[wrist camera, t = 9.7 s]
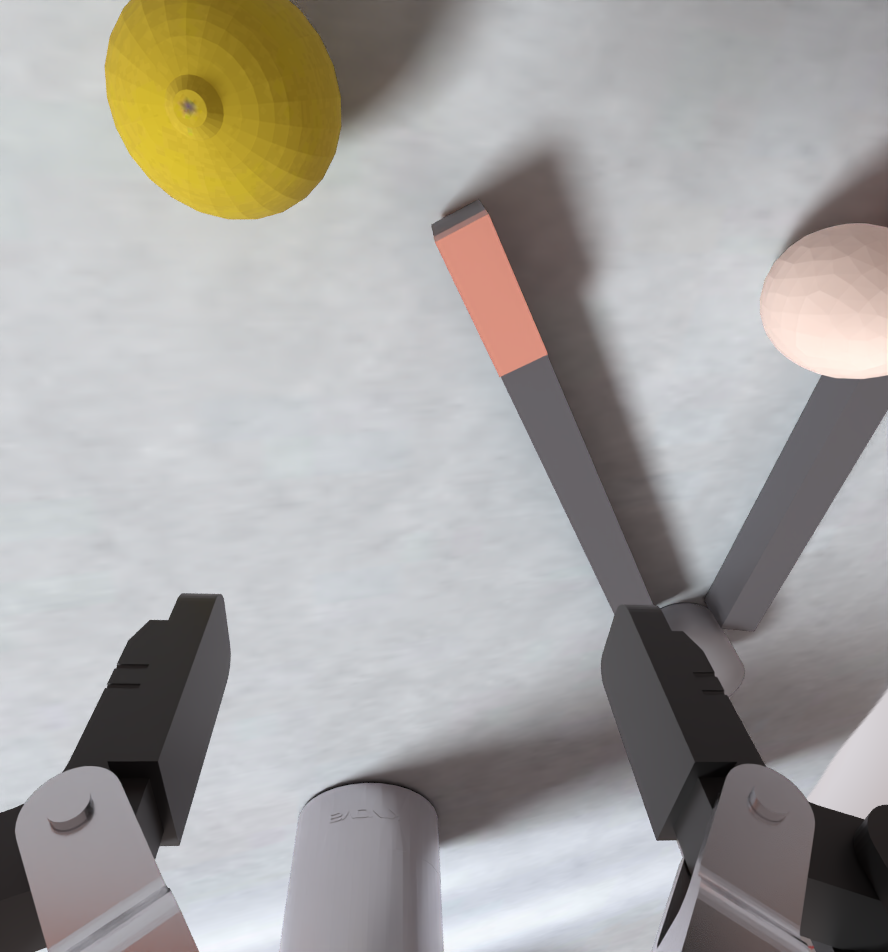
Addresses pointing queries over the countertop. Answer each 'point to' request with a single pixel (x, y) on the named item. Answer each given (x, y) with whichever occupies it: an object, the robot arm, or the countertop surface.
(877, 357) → the egg
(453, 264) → the tong leg
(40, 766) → the countertop surface
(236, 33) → the lemon
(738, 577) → the base
